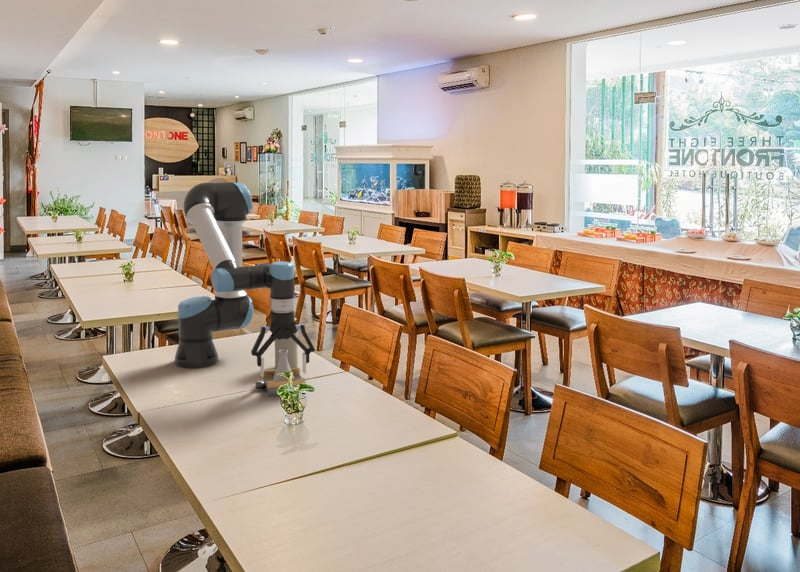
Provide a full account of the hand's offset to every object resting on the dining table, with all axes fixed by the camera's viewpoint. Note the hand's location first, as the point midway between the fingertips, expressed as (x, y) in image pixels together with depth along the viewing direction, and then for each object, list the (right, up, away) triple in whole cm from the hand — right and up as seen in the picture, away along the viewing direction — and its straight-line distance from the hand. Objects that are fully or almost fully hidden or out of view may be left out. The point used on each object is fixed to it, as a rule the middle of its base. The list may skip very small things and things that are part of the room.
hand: (283, 374), depth 224 cm
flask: (0, -2, 0) cm, 2 cm away
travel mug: (-3, -1, +22) cm, 23 cm away
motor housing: (-1, -5, 0) cm, 5 cm away
